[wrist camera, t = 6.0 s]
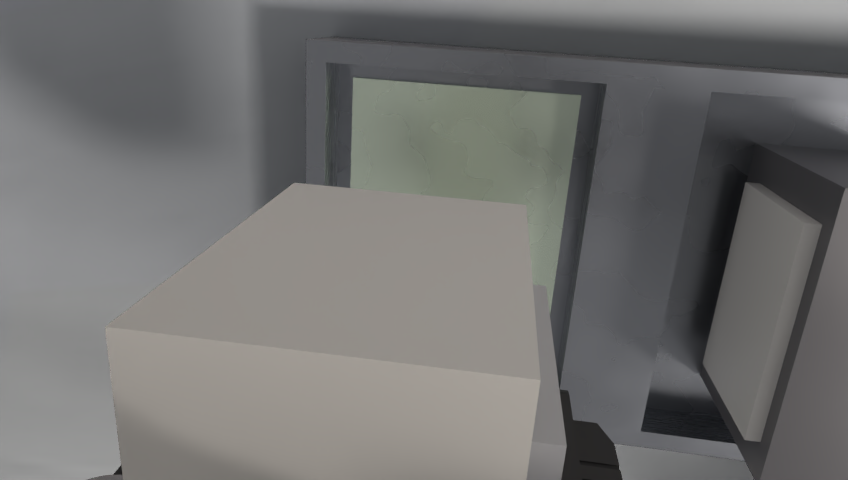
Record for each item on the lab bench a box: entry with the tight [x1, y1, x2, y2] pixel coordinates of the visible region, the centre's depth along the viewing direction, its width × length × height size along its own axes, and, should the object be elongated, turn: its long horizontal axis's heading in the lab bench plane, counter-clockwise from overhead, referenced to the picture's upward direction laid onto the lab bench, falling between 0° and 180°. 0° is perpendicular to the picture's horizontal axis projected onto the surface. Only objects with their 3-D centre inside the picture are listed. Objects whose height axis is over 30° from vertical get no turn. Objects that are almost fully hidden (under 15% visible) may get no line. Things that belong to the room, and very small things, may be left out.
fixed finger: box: [700, 143, 848, 480], centre depth 18 cm, size 4×8×6 cm, turn 176°
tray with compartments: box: [306, 37, 848, 461], centre depth 21 cm, size 20×12×3 cm, turn 86°
